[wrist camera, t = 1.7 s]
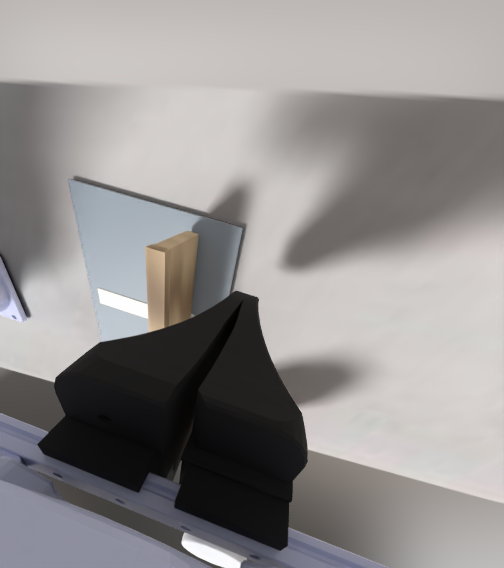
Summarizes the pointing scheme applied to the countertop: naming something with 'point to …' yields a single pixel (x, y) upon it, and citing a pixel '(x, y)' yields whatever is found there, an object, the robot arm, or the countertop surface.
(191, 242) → the wooden flat block
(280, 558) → the robot arm
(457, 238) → the countertop surface
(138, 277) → the card
